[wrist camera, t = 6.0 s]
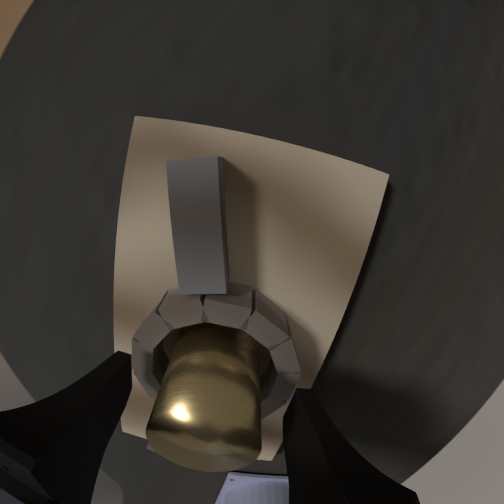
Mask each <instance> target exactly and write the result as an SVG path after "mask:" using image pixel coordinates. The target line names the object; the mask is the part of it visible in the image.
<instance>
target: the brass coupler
mask: <svg viewBox="0 0 504 504" xmlns="http://www.w3.org/2000/svg"><path fill="white" fill-rule="evenodd" d="M145 433H146V438H147V440H148V442H149V444H150V445H151V446H152V448H153V449H154V450H155V451H156V452H157V453H159V454H160V455H161V456H163V457H164V458H166V459H168V460H169V461H171V462H173V463H176V464H178V465H181V466H183V467H187V468H190V469H195V470H200V471H208V472H224V471H231V470H236V469H240V468H243V467H245V466H247V465H249V464H251V463H253V462H254V461H255V460H256V459H257V458H258V457H259V455H260V453H261V451H262V434H261V403H260V373H259V346H258V341H257V340H256V339H254V338H253V337H252V336H250V335H249V334H248V333H246V332H245V331H244V330H242V329H238V328H232V327H228V326H223V325H218V324H213V323H209V322H202V323H198V324H194V325H189V326H185V327H183V328H182V330H181V332H180V334H179V337H178V340H177V342H176V345H175V348H174V350H173V353H172V356H171V358H170V361H169V364H168V367H167V369H166V372H165V375H164V378H163V380H162V383H161V386H160V389H159V392H158V394H157V397H156V400H155V403H154V406H153V409H152V412H151V415H150V418H149V421H148V423H147V426H146V431H145Z"/></svg>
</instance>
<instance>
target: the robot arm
mask: <svg viewBox="0 0 504 504" xmlns="http://www.w3.org/2000/svg"><path fill="white" fill-rule="evenodd" d="M131 390H132V354H128V353H125V352H122V351H119V350H118V351H116V352H115V353H114V354H113V355H111V356H110V357H109V358H108V359H106V360H105V361H104V362H103V363H101V364H100V365H99V366H97V367H96V368H95V369H93V370H92V371H91V372H89V373H88V374H86V375H85V376H84V377H82V378H81V379H79V380H78V381H76V382H74V383H73V384H71V385H70V386H68V387H66V388H65V389H63V390H61V391H59V392H57V393H55V394H53V395H51V396H49V397H47V398H45V399H42V400H40V401H37V402H35V403H32V404H29V405H26V406H23V407H19V408H15V409H12V410H7V411H1V412H0V504H91V499H92V494H93V490H94V486H95V482H96V478H97V474H98V471H99V468H100V465H101V461H102V458H103V455H104V452H105V449H106V447H107V445H108V442H109V440H110V438H111V436H112V434H113V432H114V430H115V428H116V426H117V424H118V422H119V420H120V418H121V416H122V414H123V411H124V409H125V407H126V405H127V402H128V399H129V396H130V393H131ZM283 444H284V452H285V459H286V466H287V473H288V476H273V475H258V474H247V473H238V472H230V473H228V475H227V477H226V480H225V482H224V484H223V487H222V489H221V491H220V493H219V496H218V498H217V500H216V502H215V504H420V502H419V499H418V497H417V494H416V492H414V491H412V490H410V489H408V488H406V487H404V486H403V485H401V484H399V483H397V482H395V481H394V480H392V479H391V478H389V477H387V476H386V475H384V474H383V473H382V472H380V471H379V470H378V469H376V468H375V467H374V466H373V465H371V464H370V463H369V462H368V461H367V460H365V459H364V458H363V457H362V456H361V455H360V454H359V453H358V452H357V451H356V450H355V449H354V448H353V447H352V446H351V445H350V444H349V443H348V441H347V440H346V439H345V438H344V437H343V435H342V434H341V433H340V432H339V430H338V429H337V428H336V426H335V425H334V424H333V422H332V421H331V420H330V418H329V417H328V415H327V414H326V412H325V411H324V409H323V408H322V406H321V405H320V403H319V402H318V400H317V399H316V397H315V396H314V394H313V392H312V391H311V389H305V388H296V390H295V392H294V395H293V397H292V399H291V401H290V403H289V405H288V407H287V409H286V411H285V413H284V415H283Z"/></svg>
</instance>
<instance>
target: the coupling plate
mask: <svg viewBox="0 0 504 504" xmlns="http://www.w3.org/2000/svg"><path fill="white" fill-rule="evenodd" d="M388 177H389V174H386V173H383V172H381V171H378V170H375V169H372V168H369V167H366V166H363V165H361V164H358V163H354V162H351V161H348V160H345V159H342V158H339V157H336V156H332V155H329V154H326V153H322V152H319V151H315V150H312V149H308V148H305V147H301V146H297V145H293V144H290V143H286V142H282V141H278V140H274V139H269V138H265V137H261V136H256V135H252V134H247V133H242V132H238V131H233V130H228V129H222V128H217V127H211V126H206V125H200V124H193V123H187V122H180V121H173V120H166V119H158V118H149V117H140V116H135V119H134V123H133V128H132V133H131V137H130V143H129V148H128V153H127V159H126V165H125V171H124V177H123V184H122V191H121V199H120V207H119V216H118V226H117V238H116V251H115V269H114V349H115V352H116V351H118V350H119V351H122V352H125V353H128V354H132V390H131V393H130V396H129V399H128V402H127V405H126V407H125V409H124V411H123V414H122V416H121V424H122V430H123V432H126V433H129V434H132V435H136V436H139V437H142V438H146V433H145V431H146V426H147V423H148V421H149V418H150V415H151V412H152V409H153V406H154V403H155V400H156V397H157V394H158V392H159V389H160V386H161V383H162V380H163V378H164V375H165V372H166V369H167V367H168V364H169V361H170V358H171V356H172V353H173V350H174V348H175V345H176V342H177V340H178V337H179V334H180V332H181V330H182V328H183V327H185V326H189V325H194V324H198V323H202V322H209V323H213V324H218V325H223V326H228V327H232V328H238V329H242V330H244V331H245V332H246V333H248V334H249V335H250V336H252V337H253V338H254V339H256V340H257V341H258V346H259V373H260V403H261V434H262V451H261V453H260V455H259V457H258V458H257V459H258V460H270V461H272V459H273V457H274V456H275V454H276V452H277V450H278V449H279V447H280V445H281V444H282V442H283V415H284V413H285V411H286V409H287V407H288V405H289V403H290V401H291V399H292V397H293V395H294V392H295V390H296V388H305V389H311V387H312V385H313V383H314V381H315V379H316V377H317V374H318V372H319V370H320V368H321V366H322V364H323V362H324V359H325V357H326V355H327V353H328V350H329V348H330V346H331V344H332V341H333V339H334V337H335V334H336V332H337V330H338V327H339V325H340V322H341V320H342V317H343V315H344V312H345V310H346V307H347V305H348V302H349V300H350V297H351V294H352V292H353V289H354V286H355V284H356V281H357V278H358V275H359V273H360V270H361V267H362V264H363V261H364V258H365V255H366V252H367V249H368V246H369V243H370V240H371V237H372V234H373V230H374V227H375V224H376V220H377V217H378V214H379V210H380V207H381V203H382V200H383V196H384V192H385V188H386V185H387V181H388ZM146 439H147V438H146ZM147 449H149V450H151V451H154V452H156V451H155V450H154V449H153V448H152V446H151V445H150V444H149V442H148V445H147ZM156 453H157V452H156Z"/></svg>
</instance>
